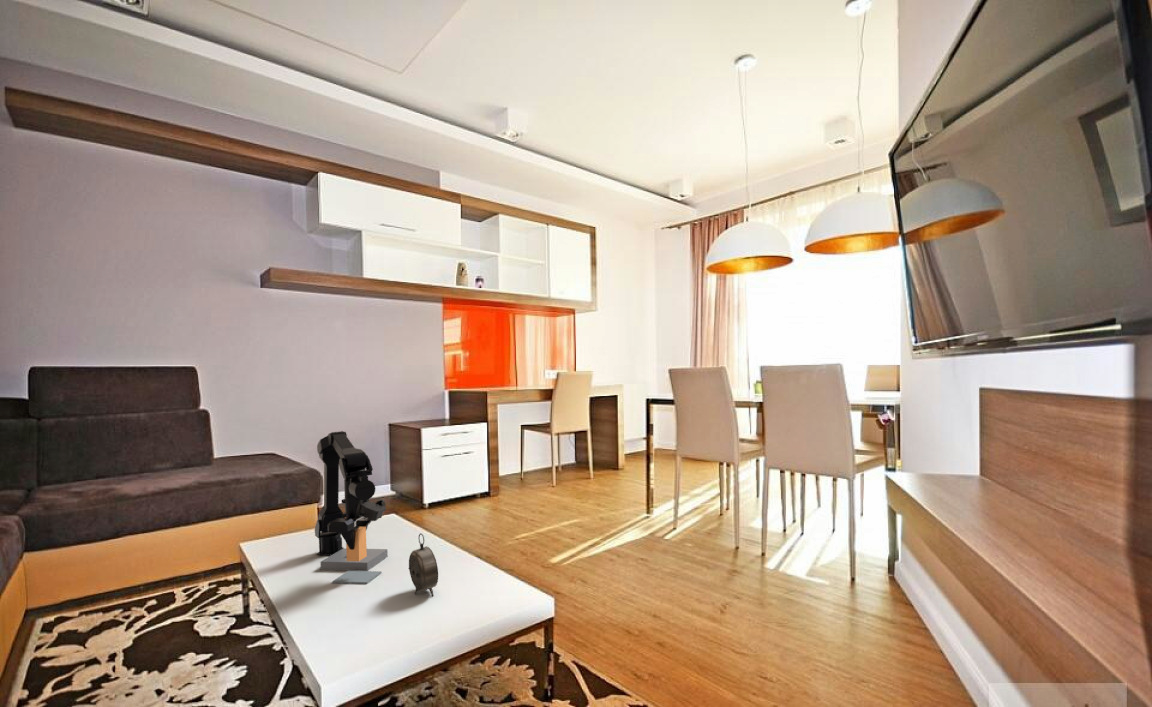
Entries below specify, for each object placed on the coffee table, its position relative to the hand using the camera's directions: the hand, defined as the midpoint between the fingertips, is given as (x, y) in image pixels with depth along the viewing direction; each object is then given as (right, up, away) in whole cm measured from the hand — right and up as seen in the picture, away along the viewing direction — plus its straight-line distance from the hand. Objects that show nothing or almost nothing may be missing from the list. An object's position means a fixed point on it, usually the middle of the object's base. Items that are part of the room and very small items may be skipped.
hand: (356, 546), depth 156 cm
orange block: (0, -4, 0) cm, 4 cm away
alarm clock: (+24, -8, -13) cm, 28 cm away
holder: (-6, -10, +12) cm, 17 cm away
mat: (0, -9, 0) cm, 9 cm away
